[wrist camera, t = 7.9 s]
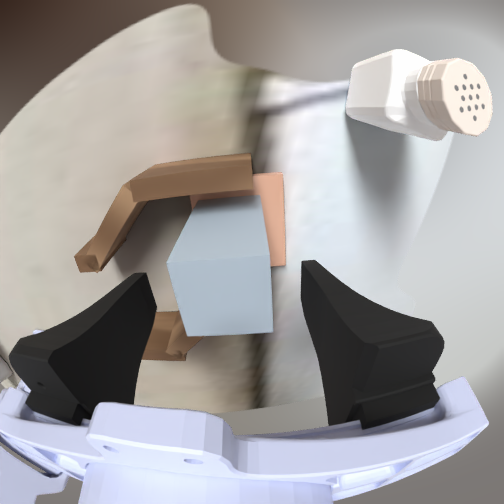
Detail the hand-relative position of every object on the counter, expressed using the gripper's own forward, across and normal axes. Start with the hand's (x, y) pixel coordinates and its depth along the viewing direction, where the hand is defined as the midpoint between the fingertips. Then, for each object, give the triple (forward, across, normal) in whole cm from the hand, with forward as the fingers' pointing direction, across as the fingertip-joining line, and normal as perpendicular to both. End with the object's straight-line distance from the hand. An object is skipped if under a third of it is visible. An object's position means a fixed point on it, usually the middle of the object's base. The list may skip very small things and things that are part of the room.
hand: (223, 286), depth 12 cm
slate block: (+7, 0, 0) cm, 7 cm away
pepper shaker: (+8, -10, -9) cm, 15 cm away
